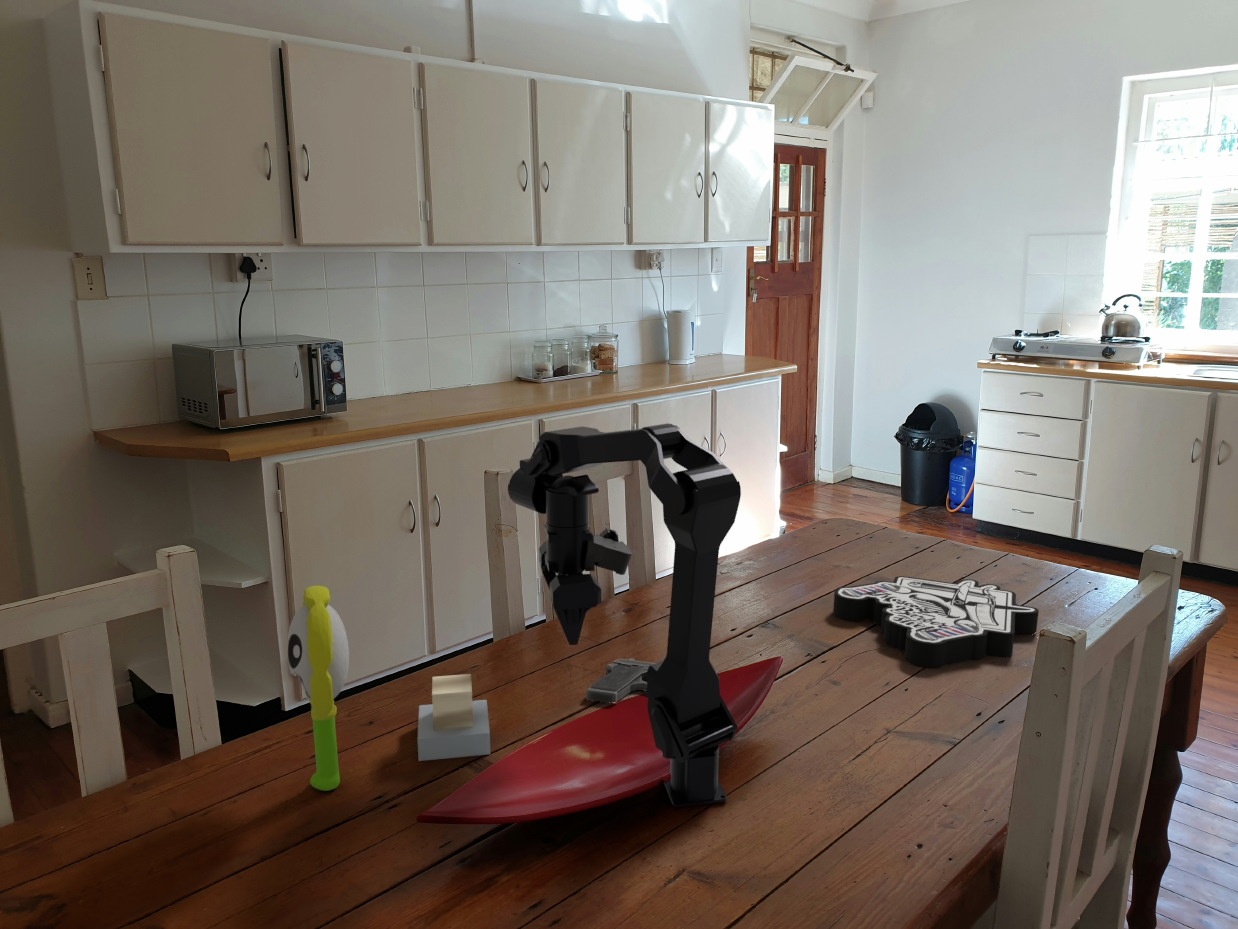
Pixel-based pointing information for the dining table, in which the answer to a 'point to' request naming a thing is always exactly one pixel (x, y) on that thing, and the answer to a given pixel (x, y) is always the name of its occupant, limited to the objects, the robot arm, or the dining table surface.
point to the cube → (452, 702)
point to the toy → (320, 674)
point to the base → (453, 735)
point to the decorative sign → (939, 618)
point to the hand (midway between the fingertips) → (568, 630)
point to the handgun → (619, 680)
